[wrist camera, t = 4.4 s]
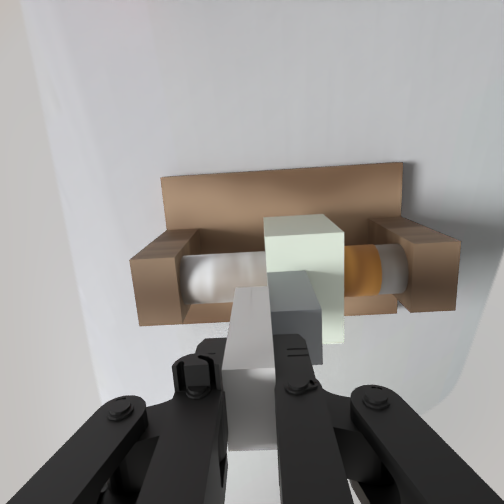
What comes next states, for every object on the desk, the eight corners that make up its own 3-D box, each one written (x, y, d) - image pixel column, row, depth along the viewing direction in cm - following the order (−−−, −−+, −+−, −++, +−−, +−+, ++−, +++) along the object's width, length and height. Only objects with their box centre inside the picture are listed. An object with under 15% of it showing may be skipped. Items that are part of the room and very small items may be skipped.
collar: (263, 217, 24) (267, 265, 14) (322, 213, 24) (375, 259, 13) (267, 303, 26) (275, 407, 15) (324, 300, 26) (371, 403, 15)
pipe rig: (165, 176, 29) (118, 186, 19) (395, 162, 28) (467, 164, 18) (182, 316, 32) (148, 386, 22) (390, 306, 31) (450, 373, 21)
